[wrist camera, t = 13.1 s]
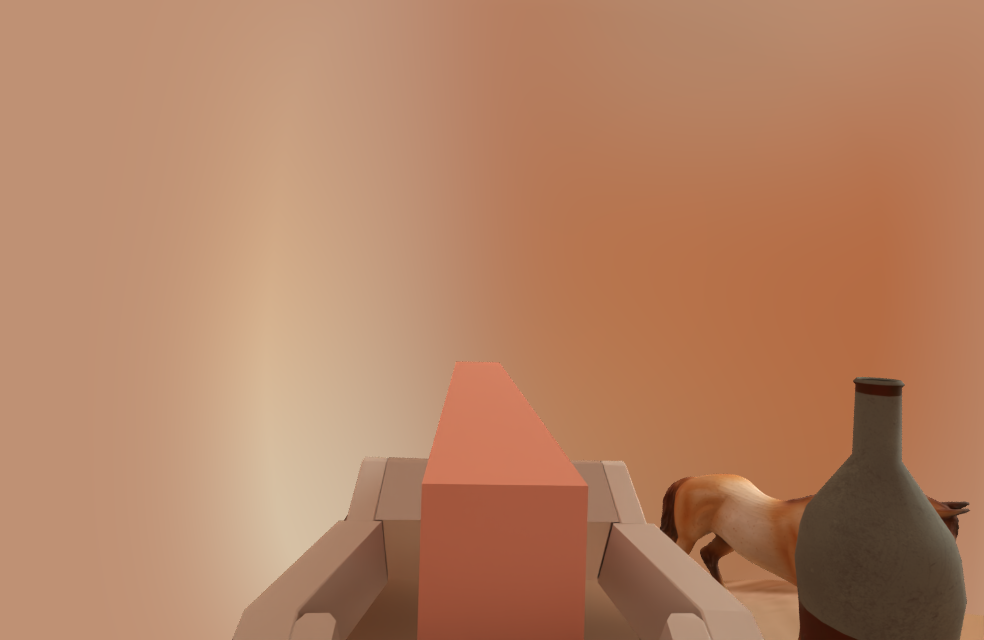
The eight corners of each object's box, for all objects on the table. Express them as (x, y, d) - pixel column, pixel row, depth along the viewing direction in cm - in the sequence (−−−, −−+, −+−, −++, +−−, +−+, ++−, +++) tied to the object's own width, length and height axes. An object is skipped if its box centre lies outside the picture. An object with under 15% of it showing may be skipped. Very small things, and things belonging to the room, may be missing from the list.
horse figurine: (973, 768, 38) (980, 499, 38) (918, 808, 34) (926, 514, 34) (669, 573, 66) (673, 420, 66) (623, 585, 63) (627, 424, 63)
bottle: (887, 761, 38) (897, 373, 38) (1004, 900, 29) (1018, 391, 29) (763, 752, 39) (773, 370, 39) (840, 887, 29) (853, 386, 29)
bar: (583, 663, 8) (588, 485, 8) (416, 665, 8) (421, 483, 8) (497, 409, 30) (499, 362, 30) (454, 408, 30) (456, 361, 30)
